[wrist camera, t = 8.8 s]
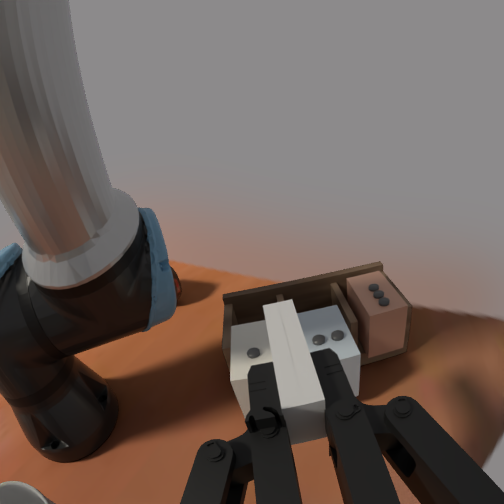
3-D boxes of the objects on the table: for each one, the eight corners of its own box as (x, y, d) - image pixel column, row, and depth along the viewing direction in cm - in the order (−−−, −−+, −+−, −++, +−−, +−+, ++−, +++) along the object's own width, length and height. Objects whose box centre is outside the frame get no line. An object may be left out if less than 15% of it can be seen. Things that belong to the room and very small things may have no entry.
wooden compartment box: (406, 351, 33) (412, 298, 29) (237, 391, 33) (219, 342, 30) (379, 310, 41) (380, 261, 38) (237, 341, 42) (222, 294, 39)
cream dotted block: (289, 411, 27) (280, 370, 24) (245, 418, 27) (229, 378, 24) (280, 358, 34) (271, 316, 32) (243, 365, 34) (230, 323, 32)
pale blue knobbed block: (358, 395, 27) (360, 351, 24) (315, 406, 27) (311, 364, 24) (338, 345, 34) (336, 302, 31) (302, 354, 34) (296, 311, 32)
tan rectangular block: (403, 347, 31) (408, 303, 28) (368, 358, 31) (369, 313, 28) (378, 309, 38) (379, 268, 35) (348, 317, 38) (346, 276, 36)
